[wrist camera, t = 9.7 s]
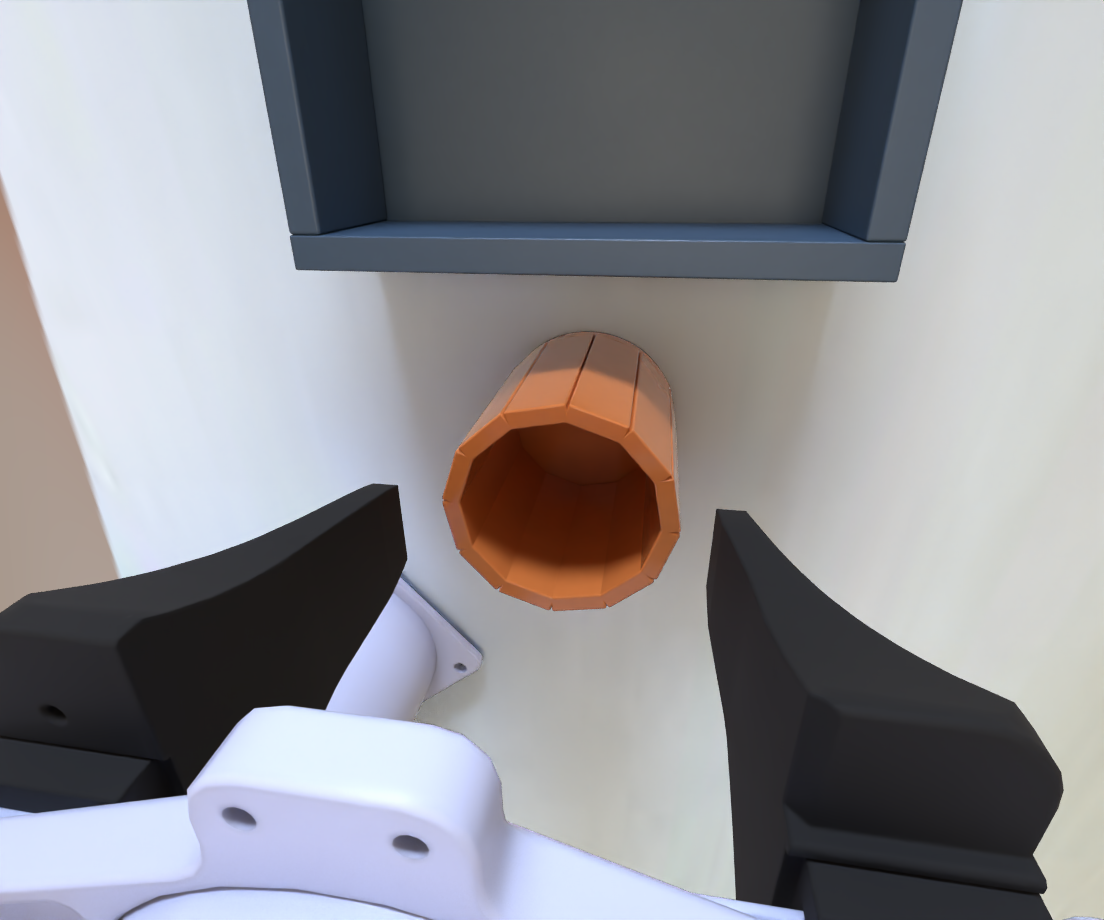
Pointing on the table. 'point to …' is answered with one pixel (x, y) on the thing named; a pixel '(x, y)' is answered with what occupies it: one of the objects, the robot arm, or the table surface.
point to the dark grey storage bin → (603, 134)
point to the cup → (570, 476)
